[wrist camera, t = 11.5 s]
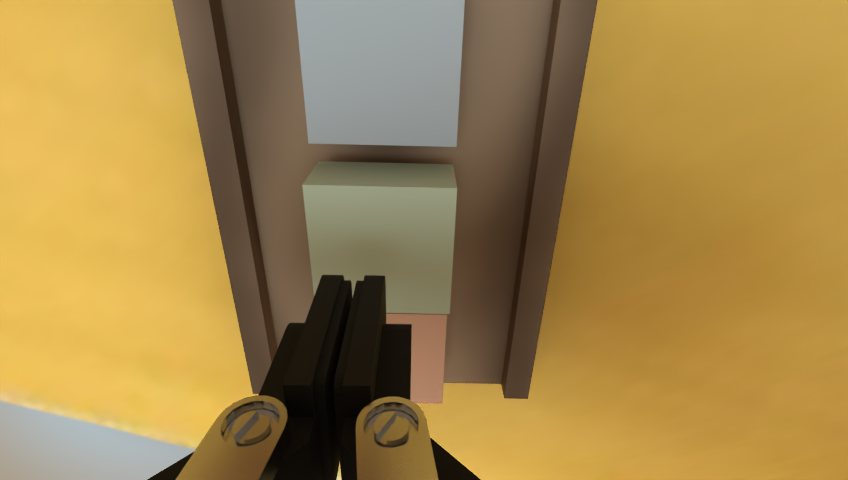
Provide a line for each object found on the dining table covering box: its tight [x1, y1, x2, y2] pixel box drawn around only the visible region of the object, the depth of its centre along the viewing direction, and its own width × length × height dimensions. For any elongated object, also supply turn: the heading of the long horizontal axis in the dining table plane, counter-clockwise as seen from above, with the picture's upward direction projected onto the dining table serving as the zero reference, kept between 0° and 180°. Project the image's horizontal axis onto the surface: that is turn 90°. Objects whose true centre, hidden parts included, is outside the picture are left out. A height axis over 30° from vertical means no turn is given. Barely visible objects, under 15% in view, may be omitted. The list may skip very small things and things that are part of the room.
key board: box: [173, 0, 597, 399], centre depth 19 cm, size 14×20×2 cm
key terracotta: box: [386, 313, 447, 403], centre depth 21 cm, size 5×5×2 cm
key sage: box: [302, 161, 457, 314], centre depth 17 cm, size 5×5×2 cm
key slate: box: [295, 0, 465, 147], centre depth 15 cm, size 5×5×2 cm
